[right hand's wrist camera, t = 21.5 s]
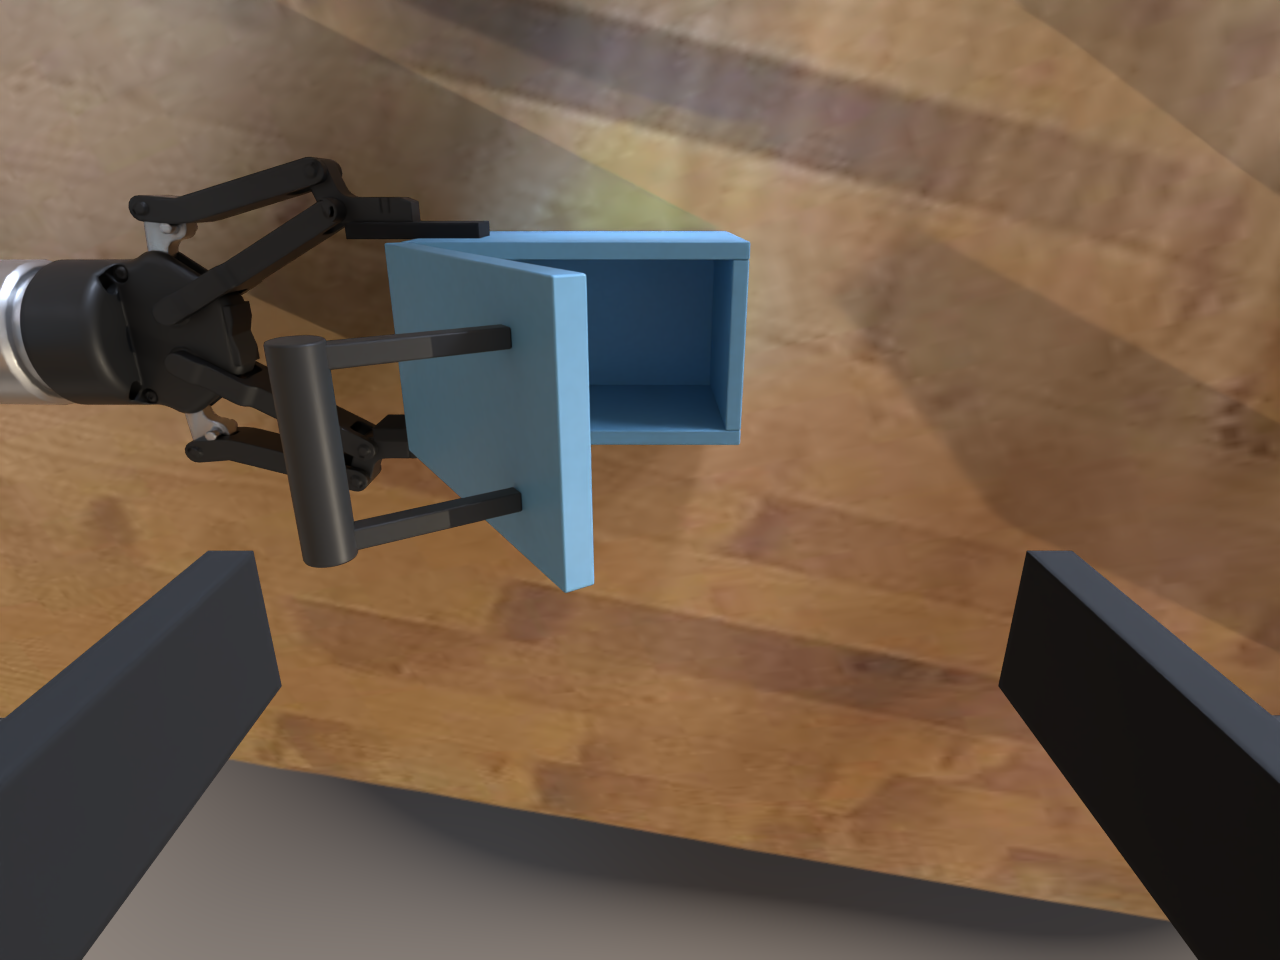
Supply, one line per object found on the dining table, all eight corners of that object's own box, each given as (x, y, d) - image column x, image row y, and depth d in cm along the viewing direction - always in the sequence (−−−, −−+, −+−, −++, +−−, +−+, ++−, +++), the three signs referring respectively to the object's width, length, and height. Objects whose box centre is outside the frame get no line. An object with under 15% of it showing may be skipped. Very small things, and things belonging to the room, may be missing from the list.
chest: (726, 231, 43) (750, 241, 34) (720, 393, 47) (739, 445, 37) (454, 231, 43) (400, 241, 34) (468, 393, 47) (423, 444, 37)
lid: (587, 272, 20) (270, 292, 16) (595, 585, 24) (336, 665, 20) (408, 242, 33) (208, 249, 29) (430, 446, 37) (254, 477, 33)
